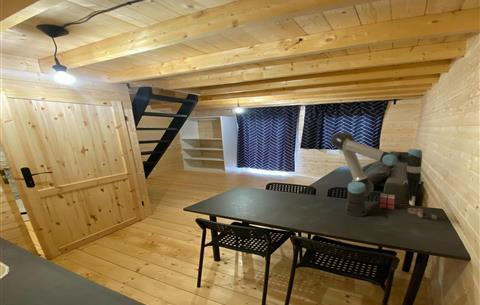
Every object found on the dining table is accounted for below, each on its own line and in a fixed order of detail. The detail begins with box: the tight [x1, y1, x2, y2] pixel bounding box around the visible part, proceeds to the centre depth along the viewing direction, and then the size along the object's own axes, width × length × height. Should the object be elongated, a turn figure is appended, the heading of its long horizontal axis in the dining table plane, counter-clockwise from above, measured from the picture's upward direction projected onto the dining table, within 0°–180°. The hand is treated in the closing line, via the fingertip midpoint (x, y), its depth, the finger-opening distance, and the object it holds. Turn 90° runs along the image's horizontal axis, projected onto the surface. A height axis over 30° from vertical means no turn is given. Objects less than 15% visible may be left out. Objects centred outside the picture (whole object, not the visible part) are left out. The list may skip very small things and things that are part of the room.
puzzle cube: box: [378, 192, 396, 210], centre depth 168 cm, size 10×10×10 cm
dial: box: [406, 207, 424, 219], centre depth 152 cm, size 14×9×6 cm, turn 160°
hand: (411, 204), depth 146 cm, fingers closed
